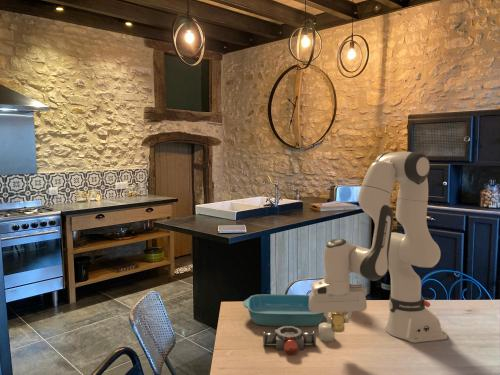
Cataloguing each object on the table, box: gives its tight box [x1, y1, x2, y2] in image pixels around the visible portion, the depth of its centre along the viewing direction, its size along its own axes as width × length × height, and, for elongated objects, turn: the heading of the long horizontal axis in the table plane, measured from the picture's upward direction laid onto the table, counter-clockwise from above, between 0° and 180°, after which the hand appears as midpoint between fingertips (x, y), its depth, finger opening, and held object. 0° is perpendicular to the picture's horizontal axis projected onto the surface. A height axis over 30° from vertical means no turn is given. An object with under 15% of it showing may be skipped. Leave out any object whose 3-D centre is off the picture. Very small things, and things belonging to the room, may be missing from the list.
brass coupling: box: [330, 312, 345, 334], centre depth 142 cm, size 5×5×6 cm
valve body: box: [262, 326, 317, 356], centre depth 147 cm, size 19×12×5 cm, turn 90°
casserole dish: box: [242, 293, 325, 327], centre depth 173 cm, size 37×22×7 cm, turn 89°
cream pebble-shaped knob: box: [318, 322, 336, 343], centre depth 154 cm, size 6×6×5 cm
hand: (337, 322), depth 142 cm, fingers closed on brass coupling, 5 cm apart
